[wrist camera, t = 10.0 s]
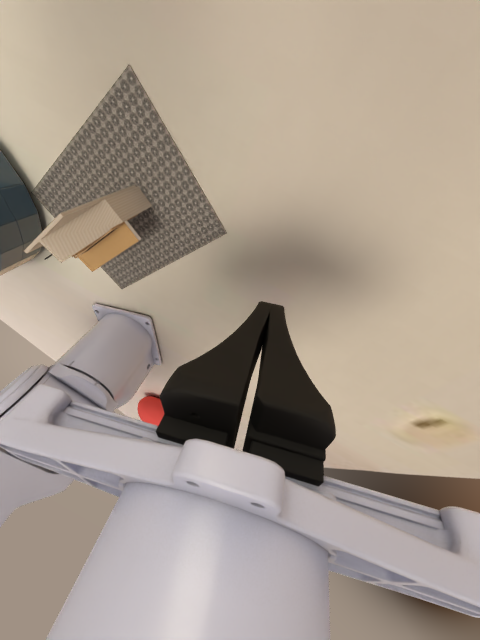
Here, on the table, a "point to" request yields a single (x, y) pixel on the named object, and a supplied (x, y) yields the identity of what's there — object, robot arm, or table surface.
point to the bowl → (15, 219)
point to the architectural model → (124, 192)
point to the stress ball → (151, 410)
